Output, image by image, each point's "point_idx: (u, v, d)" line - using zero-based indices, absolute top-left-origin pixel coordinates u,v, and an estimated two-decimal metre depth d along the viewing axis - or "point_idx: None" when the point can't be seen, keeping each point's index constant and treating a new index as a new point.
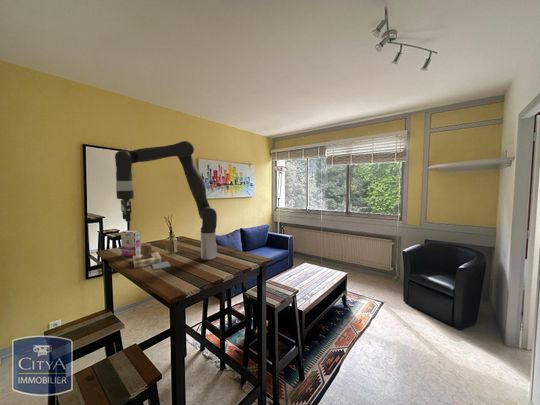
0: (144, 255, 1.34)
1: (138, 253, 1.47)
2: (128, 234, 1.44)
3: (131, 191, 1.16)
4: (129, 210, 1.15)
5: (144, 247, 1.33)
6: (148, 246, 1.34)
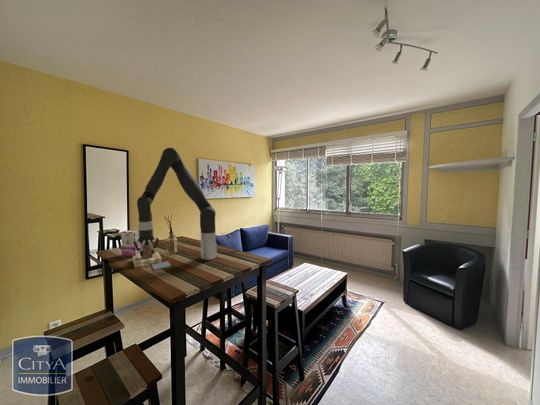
0: (144, 255, 1.34)
1: (138, 253, 1.47)
2: (128, 234, 1.44)
3: None
4: None
5: (144, 247, 1.33)
6: (148, 246, 1.34)
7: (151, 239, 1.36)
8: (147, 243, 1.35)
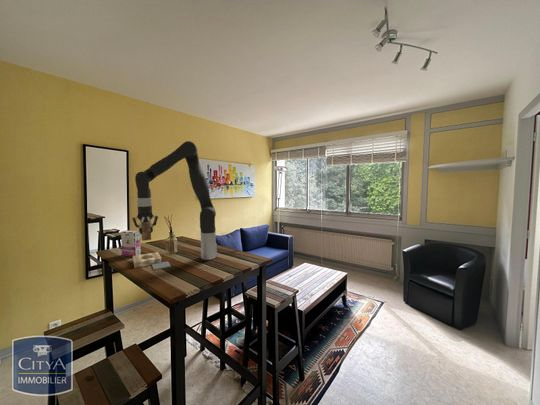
0: (143, 232, 1.32)
1: (138, 253, 1.47)
2: (128, 234, 1.44)
3: None
4: (151, 223, 1.37)
5: (143, 224, 1.32)
6: (147, 223, 1.33)
7: (150, 216, 1.35)
8: (146, 220, 1.34)
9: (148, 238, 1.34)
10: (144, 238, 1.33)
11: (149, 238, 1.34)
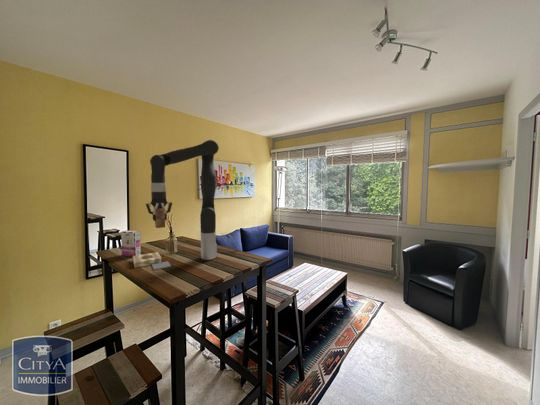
0: (157, 219, 1.25)
1: (138, 253, 1.47)
2: (128, 234, 1.44)
3: None
4: (165, 210, 1.30)
5: (157, 210, 1.25)
6: (161, 209, 1.26)
7: (164, 202, 1.28)
8: (160, 206, 1.27)
9: (162, 225, 1.27)
10: (158, 225, 1.26)
11: (163, 225, 1.27)
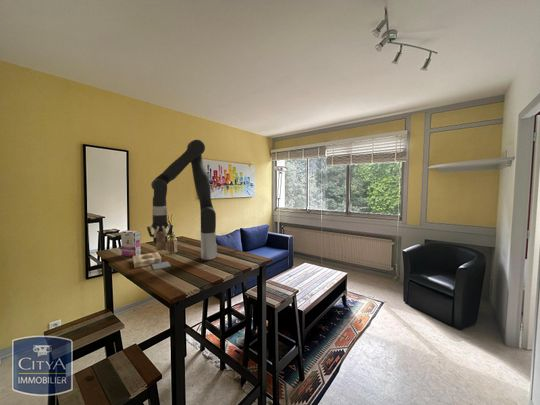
0: (158, 242, 1.26)
1: (138, 253, 1.47)
2: (128, 234, 1.44)
3: None
4: (165, 232, 1.31)
5: (158, 233, 1.26)
6: (162, 232, 1.27)
7: (165, 225, 1.29)
8: (161, 229, 1.28)
9: (162, 248, 1.28)
10: (158, 248, 1.27)
11: (163, 248, 1.28)
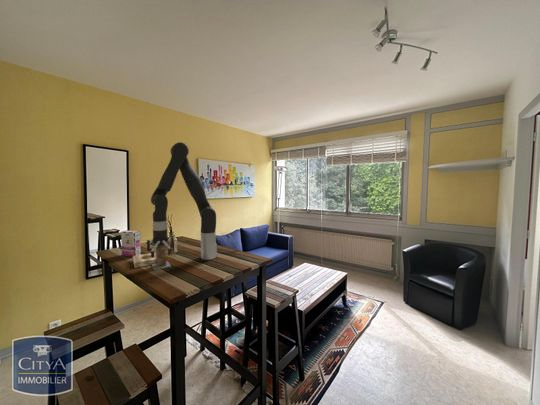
0: (158, 258, 1.27)
1: (138, 253, 1.47)
2: (128, 234, 1.44)
3: None
4: (168, 245, 1.32)
5: (159, 250, 1.27)
6: (163, 248, 1.28)
7: (165, 240, 1.30)
8: (161, 244, 1.29)
9: (163, 264, 1.29)
10: (159, 264, 1.28)
11: (164, 264, 1.29)
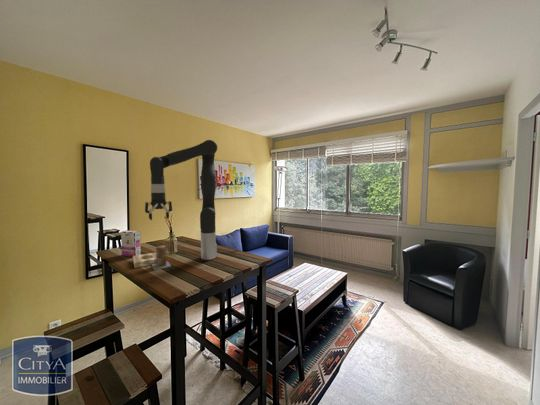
0: (158, 258, 1.27)
1: (138, 253, 1.47)
2: (128, 234, 1.44)
3: None
4: (166, 209, 1.35)
5: (159, 250, 1.27)
6: (163, 248, 1.28)
7: (163, 203, 1.32)
8: (159, 207, 1.31)
9: (163, 264, 1.29)
10: (159, 264, 1.28)
11: (164, 264, 1.29)
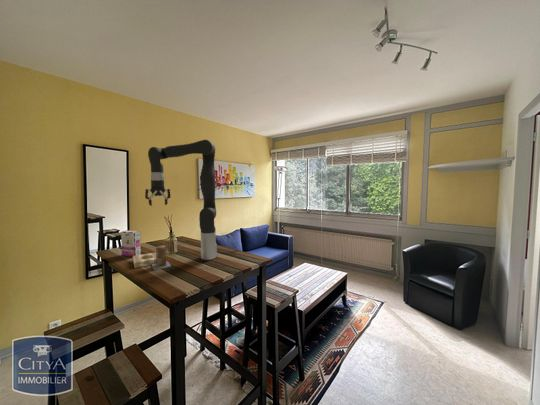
0: (158, 258, 1.27)
1: (138, 253, 1.47)
2: (128, 234, 1.44)
3: None
4: (165, 196, 1.45)
5: (159, 250, 1.27)
6: (163, 248, 1.28)
7: (162, 190, 1.42)
8: (159, 194, 1.41)
9: (163, 264, 1.29)
10: (159, 264, 1.28)
11: (164, 264, 1.29)
